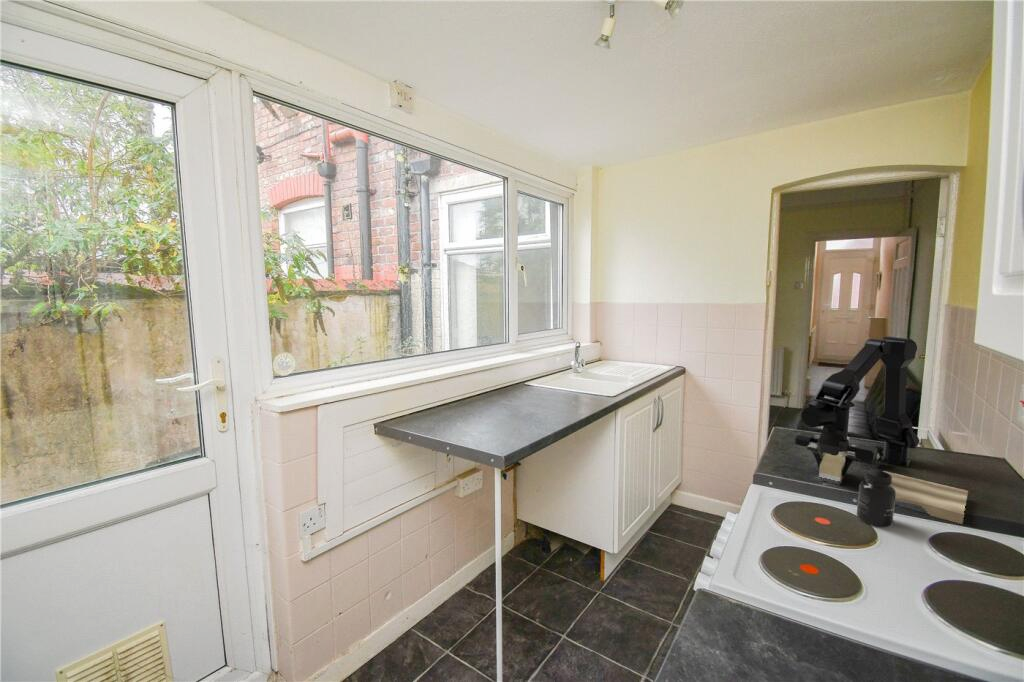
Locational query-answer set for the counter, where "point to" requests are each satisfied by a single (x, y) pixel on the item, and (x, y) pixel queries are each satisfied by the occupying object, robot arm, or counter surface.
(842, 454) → the valve
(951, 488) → the crown molding piece
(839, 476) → the housing
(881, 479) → the supplement bottle
